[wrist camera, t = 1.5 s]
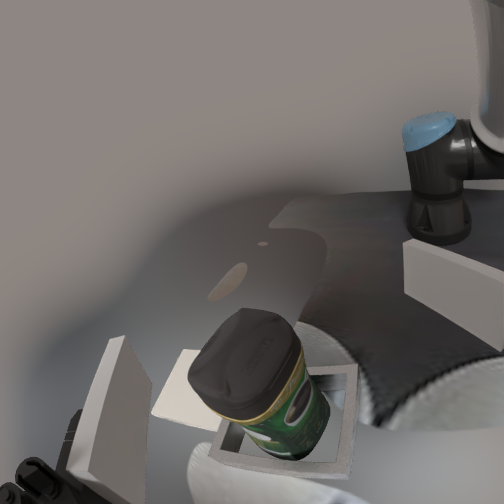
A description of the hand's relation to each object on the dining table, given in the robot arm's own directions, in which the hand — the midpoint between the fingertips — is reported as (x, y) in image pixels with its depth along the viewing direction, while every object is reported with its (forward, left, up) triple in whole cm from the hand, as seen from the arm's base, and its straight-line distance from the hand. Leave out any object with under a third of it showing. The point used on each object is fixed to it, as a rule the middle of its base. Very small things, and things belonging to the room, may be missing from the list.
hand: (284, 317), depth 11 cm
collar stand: (-4, -7, -25) cm, 26 cm away
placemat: (-9, -23, -25) cm, 35 cm away
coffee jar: (-4, -7, -25) cm, 26 cm away
